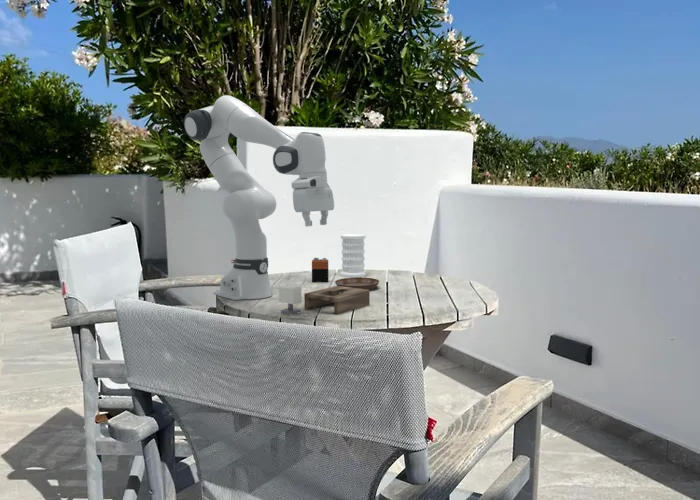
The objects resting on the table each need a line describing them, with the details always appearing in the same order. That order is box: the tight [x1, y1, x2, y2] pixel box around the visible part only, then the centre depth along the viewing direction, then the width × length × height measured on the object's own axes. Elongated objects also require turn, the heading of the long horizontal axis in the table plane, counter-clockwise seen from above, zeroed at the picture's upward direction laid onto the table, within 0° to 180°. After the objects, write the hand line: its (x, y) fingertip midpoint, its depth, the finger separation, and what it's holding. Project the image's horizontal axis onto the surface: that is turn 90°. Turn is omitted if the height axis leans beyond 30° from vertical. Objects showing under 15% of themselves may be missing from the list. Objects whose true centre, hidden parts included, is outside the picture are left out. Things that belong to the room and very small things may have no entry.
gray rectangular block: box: [278, 284, 303, 315], centre depth 199 cm, size 6×4×8 cm
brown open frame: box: [303, 285, 371, 315], centre depth 208 cm, size 14×18×5 cm
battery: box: [311, 257, 329, 283], centre depth 257 cm, size 4×7×10 cm, turn 90°
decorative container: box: [339, 233, 367, 278], centre depth 273 cm, size 12×12×18 cm
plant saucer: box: [334, 277, 380, 291], centre depth 243 cm, size 18×18×3 cm
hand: (316, 225), depth 198 cm, fingers open, 8 cm apart
